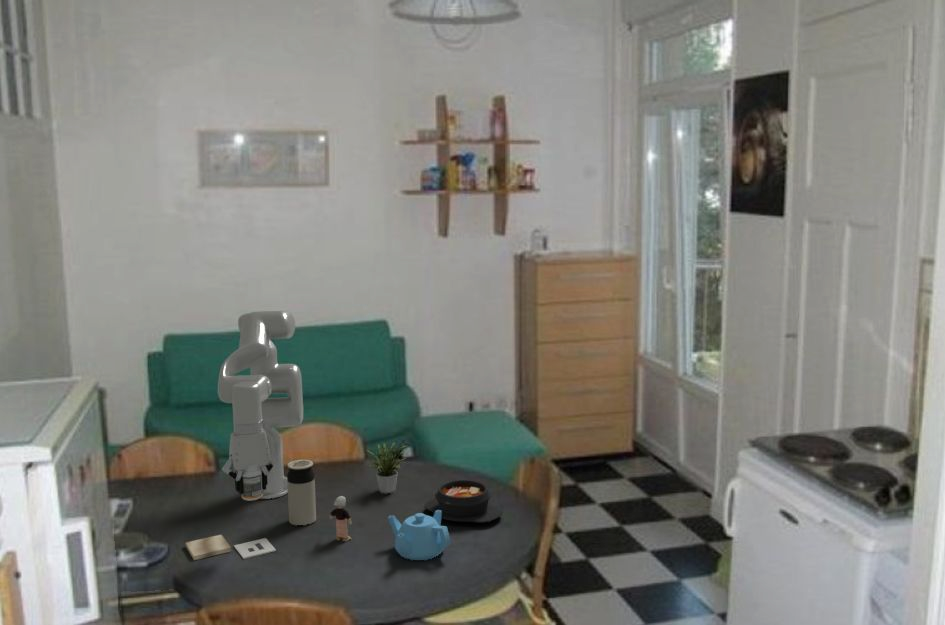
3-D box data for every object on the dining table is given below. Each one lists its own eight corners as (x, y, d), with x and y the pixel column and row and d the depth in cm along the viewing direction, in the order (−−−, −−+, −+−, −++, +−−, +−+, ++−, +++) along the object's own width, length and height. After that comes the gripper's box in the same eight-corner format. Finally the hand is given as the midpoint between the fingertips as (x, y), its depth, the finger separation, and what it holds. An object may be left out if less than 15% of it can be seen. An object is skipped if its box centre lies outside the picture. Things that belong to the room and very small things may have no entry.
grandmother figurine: (357, 537, 239) (355, 495, 237) (350, 543, 235) (349, 500, 233) (333, 534, 241) (331, 492, 239) (326, 539, 238) (324, 497, 236)
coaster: (221, 538, 239) (221, 534, 239) (231, 551, 231) (231, 547, 231) (185, 546, 234) (185, 542, 234) (194, 560, 226) (194, 556, 225)
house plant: (421, 488, 276) (420, 441, 273) (395, 502, 264) (394, 453, 261) (387, 480, 283) (386, 434, 280) (361, 493, 272) (359, 445, 269)
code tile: (265, 539, 238) (265, 537, 238) (275, 551, 231) (275, 549, 231) (234, 546, 234) (234, 545, 234) (243, 559, 226) (243, 557, 226)
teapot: (396, 567, 221) (395, 528, 219) (388, 543, 235) (387, 507, 233) (452, 560, 224) (452, 522, 222) (441, 537, 239) (441, 501, 237)
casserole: (412, 516, 253) (411, 490, 252) (446, 496, 269) (446, 471, 267) (481, 534, 240) (481, 507, 239) (514, 512, 255) (514, 486, 254)
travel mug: (321, 518, 253) (319, 461, 250) (305, 528, 245) (303, 469, 243) (299, 514, 256) (297, 457, 253) (283, 523, 249) (280, 466, 246)
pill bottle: (243, 493, 232) (241, 459, 231) (264, 492, 233) (262, 458, 231) (239, 501, 227) (237, 466, 225) (261, 500, 227) (259, 466, 226)
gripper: (274, 418, 234) (277, 480, 237) (212, 429, 225) (216, 492, 228) (283, 425, 228) (286, 488, 231) (220, 436, 219) (224, 501, 222)
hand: (251, 489), depth 230 cm, fingers closed on pill bottle, 5 cm apart
